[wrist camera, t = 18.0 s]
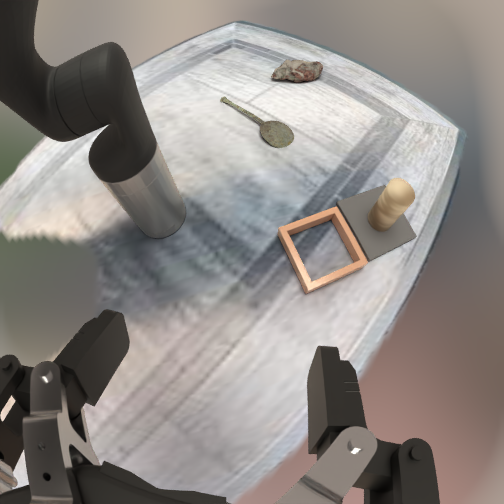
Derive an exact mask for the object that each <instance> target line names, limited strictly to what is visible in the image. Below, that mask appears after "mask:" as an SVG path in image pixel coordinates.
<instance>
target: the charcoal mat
mask: <svg viewBox="0 0 504 504" xmlns="http://www.w3.org/2000/svg"><path fill="white" fill-rule="evenodd" d="M385 188H386V186H385V185H383V186H380V187H377V188H375V189H372V190H369V191H366V192H363V193H360V194H357V195H355V196H352V197H349V198H346V199H343V200H341V201H338V202H337V203H336V205H337V206H338V208H339V210H340V212H341V213H342V215H343V217H344V218H345V220H346V222H347V224H348V225H349V227H350V229H351V231H352V232H353V234H354V236H355V238H356V240H357V242H358V243H359V245H360V247H361V249H362V251H363V253H364V255H365V257H366V258H367V260H368V262H369V261H371V260H373V259H375V258H377V257H379V256H381V255H383V254H385V253H387V252H389V251H391V250H393V249H395V248H397V247H399V246H400V245H402V244H404V243H406V242H408V241H410V240H412V239H414V238H415V237H417V236H416V234H415V233H414V231H413V229H412V227H411V226H410V224H409V222H408V220H407V219H406V217H405V215H404V214H402V215H401V216H400V217H399V218H398V219H397V220H396V222H395V223H394V224H393V225H392V226H391V227H390V228H389V229H388V230H387V231H384V232H379V231H376V230H375V229H373V228H372V227H371V225H370V224H369V222H368V213H369V211H370V210H371V208H372V207H373V206H374V204H375V203H376V201H377V200H378V198H379V197H380V195H381V194H382V192H383V191H384V189H385Z"/></svg>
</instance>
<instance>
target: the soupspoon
mask: <svg viewBox="0 0 504 504" xmlns="http://www.w3.org/2000/svg"><path fill="white" fill-rule="evenodd" d="M220 101H221V102H225V103H228V104H231V105H232V106H234V107H236V108H237V109H239V110H241V111H242V112H244V113H246V114H247V115H249V116H251V117H252V118H253V119H255V120H256V121H258V122H259V123H260V124H261V126H260V132H261V135H262V136H263V138H264V139H265V140H266V141H267V142H268V143H269V144H271V145H272V146H274V147H277V148H283V147H286V146H288V145H290V144H291V143H292V142H293V140H294V134H293V132H292V130H291V129H290V128H289V127H288V126H287V125H285V124H284V123H282V122H279V121H267V122H264V121H263V120H261V119H260V118H258V117H257V116H255V115H254V114H252V113H250V112H249V111H247V110H245V109H243V108H241V107H239V106H238V105H236V104H234V103H232V102H231V101H229V100H228V99H227V98H226V97H225V96H224V97H222V98H221V100H220Z"/></svg>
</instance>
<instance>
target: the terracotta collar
mask: <svg viewBox="0 0 504 504" xmlns="http://www.w3.org/2000/svg"><path fill="white" fill-rule="evenodd" d="M329 220H332V222H333V224H334V226H335V227H336V229H337V231H338V233H339V235H340V236H341V238H342V240H343V242H344V244H345V246H346V248H347V250H348V251H349V253H350V255H351V257H352V259H353V261H354V263H352V264H350V265H348V266H346V267H344V268H342V269H340V270H337V271H335V272H333V273H331V274H329V275H326V276H324V277H322V278H320V279H317V280H315V281H313V282H312V281H311V279H310V277H309V275H308V273H307V271H306V269H305V267H304V265H303V263H302V261H301V259H300V257H299V254H298V252H297V250H296V248H295V246H294V244H293V242H292V240H291V238H290V235H293V234H295V233H298V232H301V231H303V230H306V229H308V228H311V227H314V226H316V225H319V224H321V223H324V222H327V221H329ZM278 236H279V238H280V241H281V243H282V245H283V247H284V249H285V251H286V253H287V255H288V257H289V259H290V261H291V264H292V266H293V268H294V270H295V272H296V274H297V276H298V278H299V281H300V283H301V285H302V287H303V289H304V291H305V294H307V293H309V292H312V291H314V290H316V289H318V288H320V287H323V286H325V285H327V284H329V283H331V282H334V281H336V280H338V279H340V278H342V277H344V276H346V275H348V274H351V273H353V272H355V271H357V270H359V269H361V268H363V267H364V266H365V265H366V264H367V263H368V262H367V260H366V258H365V256H364V254H363V252H362V250H361V248H360V247H359V245H358V243H357V241H356V239H355V237H354V236H353V234H352V232H351V230H350V228H349V227H348V225H347V223H346V221H345V220H344V218H343V216H342V214H341V213H340V211H339V209H338V208H337V206H336V207H333V208H331V209H328V210H325V211H322V212H320V213H317V214H314V215H312V216H309V217H306V218H304V219H301V220H298V221H296V222H293V223H290V224H287V225H285V226H282V227H279V228H278Z"/></svg>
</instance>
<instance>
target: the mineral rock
mask: <svg viewBox="0 0 504 504" xmlns="http://www.w3.org/2000/svg"><path fill="white" fill-rule="evenodd" d="M322 69H323V65H322V64H321V63H320V62H306V61H303V60H292V61H290V60H286V61H285V62H284V63H283V64H282V65H281V66H280V67H278V68H277V69H275V70H274V72H273V74H272V76H271V77H272V78H274V79H280V80H284V79H289V80H293V82H296V83H297V82H302V81H309V80H315V79H316V78H317V77H319V75H320V73H321V72H322Z"/></svg>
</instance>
